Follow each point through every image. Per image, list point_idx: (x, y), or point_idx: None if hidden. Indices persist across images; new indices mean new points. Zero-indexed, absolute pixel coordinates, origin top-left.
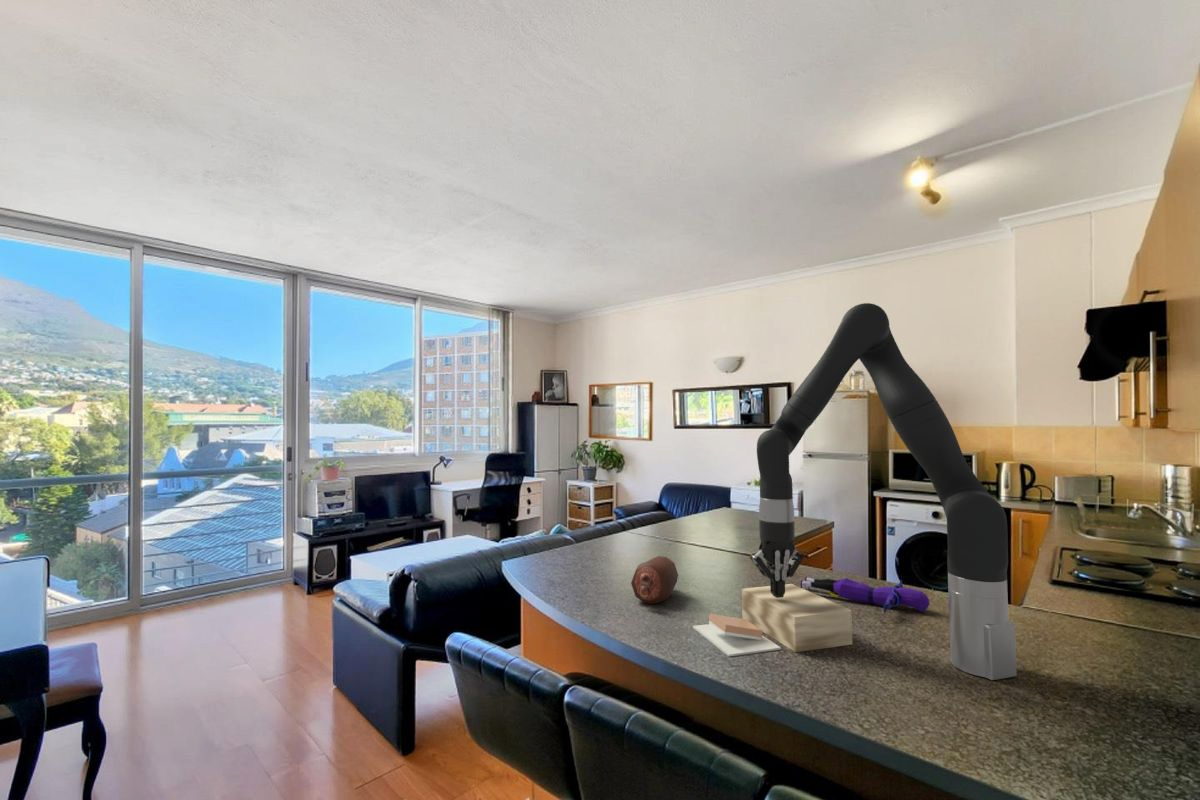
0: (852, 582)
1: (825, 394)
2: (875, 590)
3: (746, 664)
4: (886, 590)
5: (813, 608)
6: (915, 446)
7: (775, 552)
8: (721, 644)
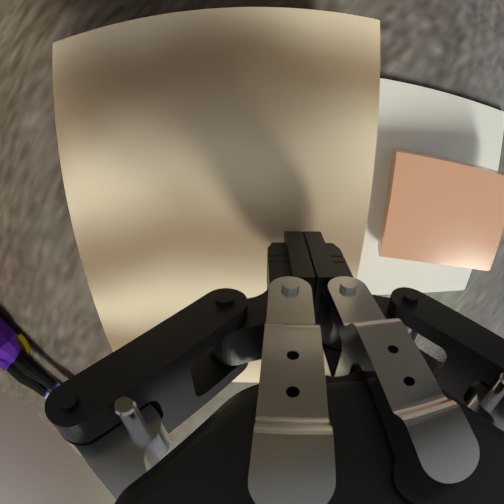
0: None
1: None
2: None
3: (490, 58)
4: None
5: (199, 84)
6: None
7: (478, 450)
8: (489, 168)
